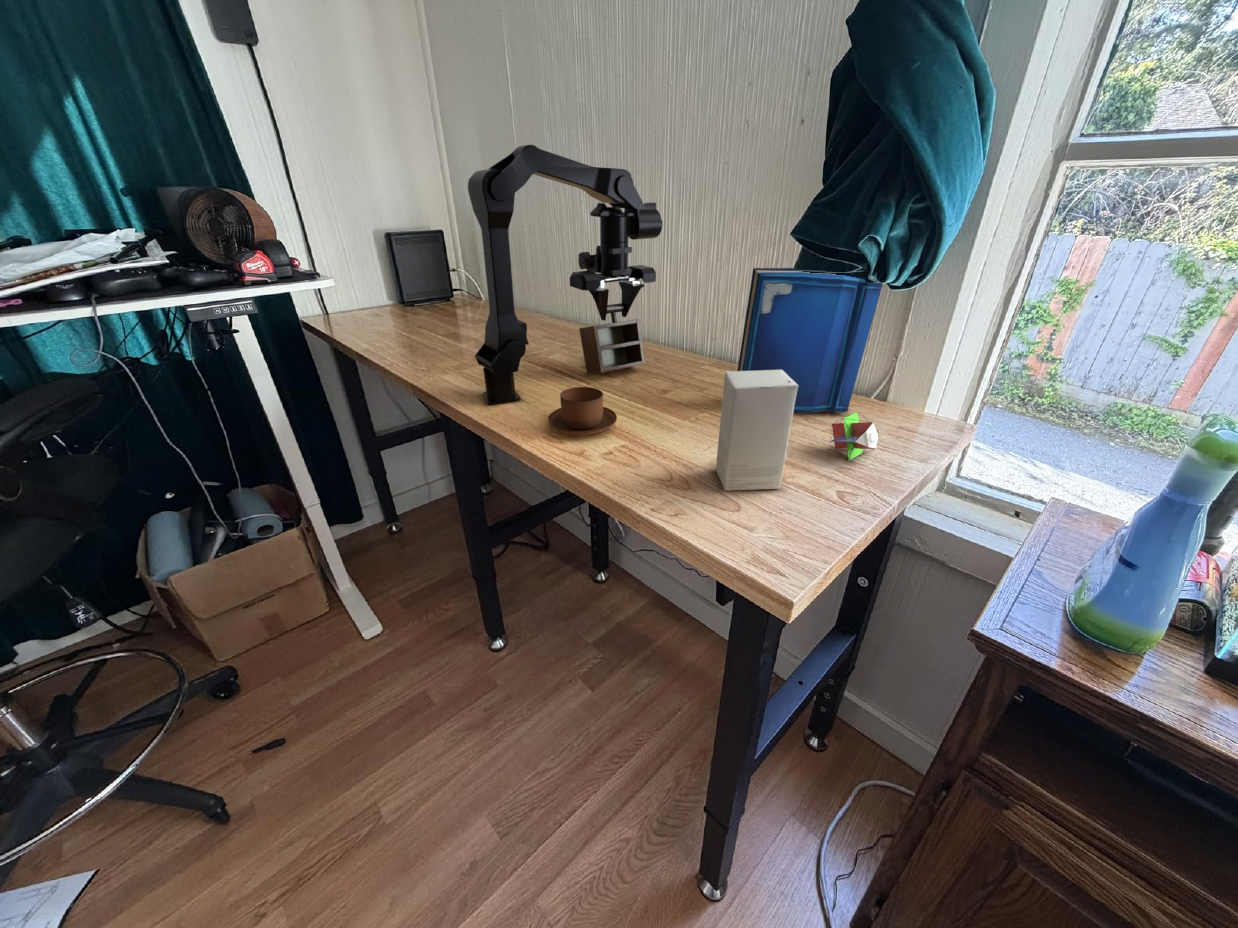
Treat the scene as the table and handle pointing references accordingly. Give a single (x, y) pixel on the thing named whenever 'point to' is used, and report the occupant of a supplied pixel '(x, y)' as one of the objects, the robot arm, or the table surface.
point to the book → (809, 332)
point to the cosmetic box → (754, 428)
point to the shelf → (612, 344)
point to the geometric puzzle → (854, 435)
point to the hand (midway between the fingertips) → (613, 318)
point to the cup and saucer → (582, 412)
